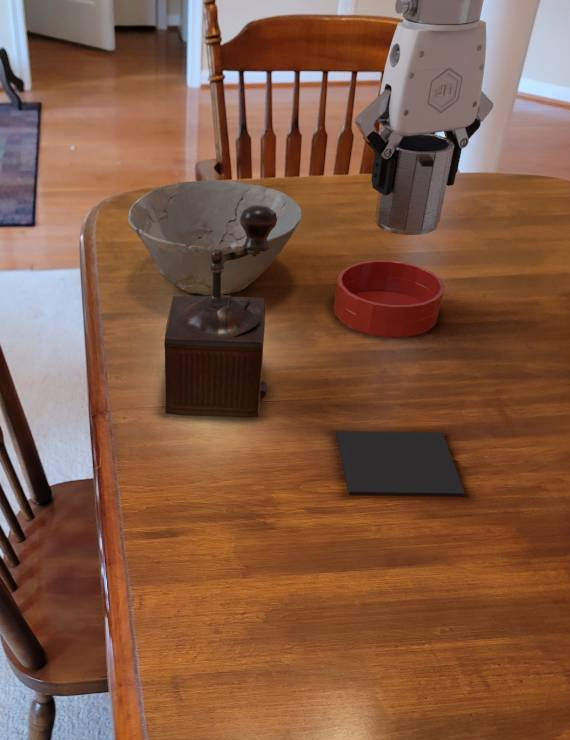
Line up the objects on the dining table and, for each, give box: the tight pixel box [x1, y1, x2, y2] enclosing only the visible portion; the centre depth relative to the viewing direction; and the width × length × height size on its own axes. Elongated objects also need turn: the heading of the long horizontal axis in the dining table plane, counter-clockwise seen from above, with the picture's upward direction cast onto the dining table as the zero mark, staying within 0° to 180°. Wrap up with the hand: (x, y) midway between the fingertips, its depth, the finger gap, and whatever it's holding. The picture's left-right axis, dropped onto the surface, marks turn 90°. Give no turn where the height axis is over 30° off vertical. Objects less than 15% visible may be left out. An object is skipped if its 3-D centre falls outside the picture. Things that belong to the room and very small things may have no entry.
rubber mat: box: [335, 430, 466, 497], centre depth 84 cm, size 11×10×1 cm
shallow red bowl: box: [333, 259, 446, 338], centre depth 106 cm, size 13×13×4 cm
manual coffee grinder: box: [163, 205, 277, 419], centre depth 90 cm, size 16×11×18 cm
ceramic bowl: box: [127, 179, 302, 296], centre depth 111 cm, size 22×23×10 cm
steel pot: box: [374, 133, 454, 236], centre depth 96 cm, size 7×10×9 cm
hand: (412, 185), depth 96 cm, fingers closed on steel pot, 7 cm apart
